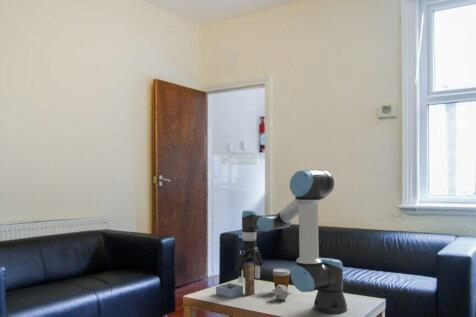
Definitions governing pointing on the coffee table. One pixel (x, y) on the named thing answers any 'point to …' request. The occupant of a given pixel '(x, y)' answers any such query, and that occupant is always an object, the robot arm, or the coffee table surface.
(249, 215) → the robot arm
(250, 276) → the long wooden beam
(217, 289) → the light blue square bin
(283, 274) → the disposable coffee cup
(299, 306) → the coffee table surface
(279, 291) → the game die
